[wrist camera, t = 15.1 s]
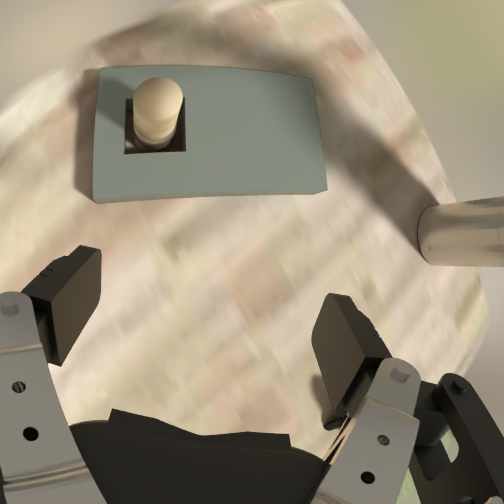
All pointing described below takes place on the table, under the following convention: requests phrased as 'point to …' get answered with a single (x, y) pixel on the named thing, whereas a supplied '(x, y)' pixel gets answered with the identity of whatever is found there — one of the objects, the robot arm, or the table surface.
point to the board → (212, 136)
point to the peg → (155, 113)
